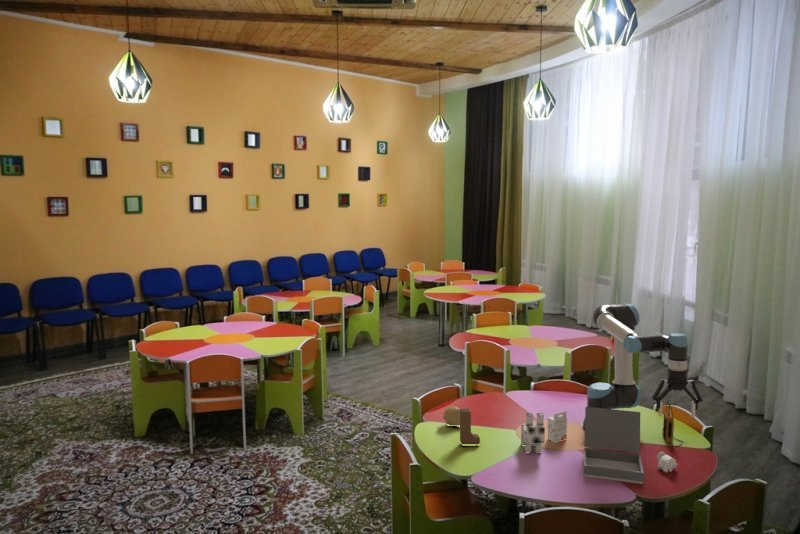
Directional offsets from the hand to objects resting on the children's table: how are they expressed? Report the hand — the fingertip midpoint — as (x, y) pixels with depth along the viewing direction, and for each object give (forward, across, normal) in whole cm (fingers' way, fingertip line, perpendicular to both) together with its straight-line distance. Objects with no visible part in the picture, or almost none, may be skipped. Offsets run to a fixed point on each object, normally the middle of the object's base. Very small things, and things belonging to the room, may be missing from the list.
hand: (676, 416), depth 259 cm
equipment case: (+24, -28, -6) cm, 37 cm away
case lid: (+9, -26, +6) cm, 28 cm away
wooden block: (+22, -92, +10) cm, 95 cm away
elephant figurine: (+24, -4, -1) cm, 25 cm away
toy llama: (+22, -62, +10) cm, 67 cm away
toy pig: (+20, -102, +32) cm, 108 cm away
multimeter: (+23, +8, +31) cm, 39 cm away
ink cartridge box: (+22, -50, +23) cm, 59 cm away
